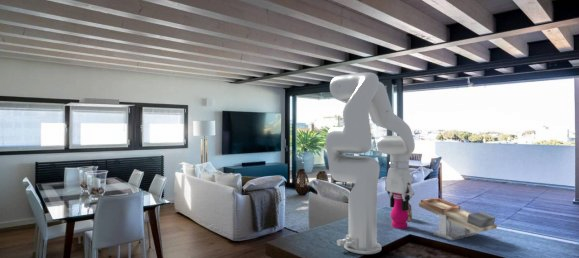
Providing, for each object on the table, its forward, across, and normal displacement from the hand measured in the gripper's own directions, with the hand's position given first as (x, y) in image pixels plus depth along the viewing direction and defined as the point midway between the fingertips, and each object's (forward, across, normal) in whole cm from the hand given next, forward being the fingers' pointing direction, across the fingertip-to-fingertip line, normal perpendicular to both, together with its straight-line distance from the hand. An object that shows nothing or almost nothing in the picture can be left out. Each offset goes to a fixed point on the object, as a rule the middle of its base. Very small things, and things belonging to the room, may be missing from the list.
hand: (399, 208), depth 140 cm
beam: (+1, +18, +12) cm, 21 cm away
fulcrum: (+8, +18, +12) cm, 23 cm away
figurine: (+8, -8, +12) cm, 16 cm away
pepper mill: (+8, 0, +1) cm, 8 cm away
